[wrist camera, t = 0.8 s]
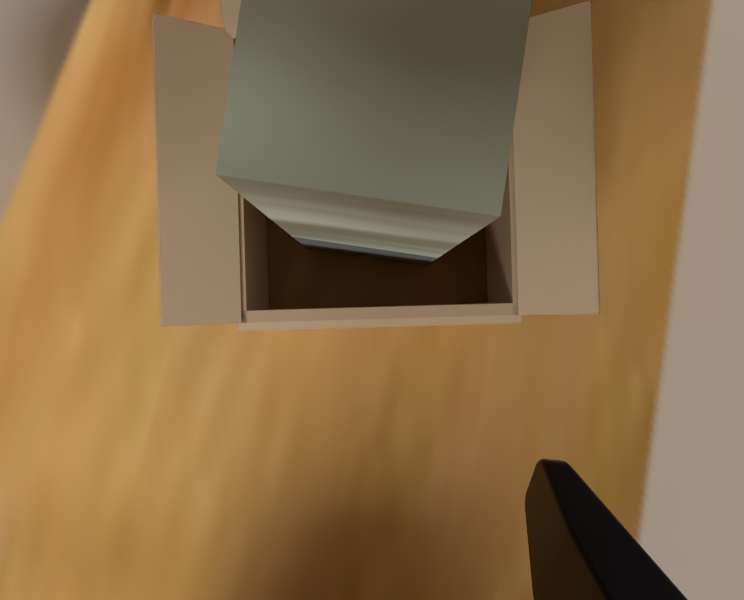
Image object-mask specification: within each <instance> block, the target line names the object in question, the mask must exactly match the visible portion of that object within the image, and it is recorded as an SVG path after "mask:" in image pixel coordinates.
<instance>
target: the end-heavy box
mask: <svg viewBox="0 0 744 600" xmlns="http://www.w3.org/2000/svg"><path fill="white" fill-rule="evenodd" d="M531 5H532V0H241V4H240V11H239V18H238V25H237V31H236V38H235V45H234V52H233V58H232V65H231V72H230V79H229V86H228V92H227V99H226V106H225V113H224V119H223V126H222V133H221V140H220V146H219V153H218V160H217V167H216V173H215V175H217V176H218V177H219V178H220V179H221V180H223V181H224V182H225V183H226V184H228V185H229V186H230V187H231V188H233V189H234V190H235V191H236V192H238V193H239V194H240V195H241V196H243V197H244V198H245V199H246V200H247V201H249V202H250V203H251V204H252V205H254V206H255V207H256V208H257V209H259V210H260V211H261V212H262V213H264V214H265V215H266V216H267V217H268V218H270V219H271V220H272V221H273V222H275V223H276V224H277V225H278V226H280V227H281V228H282V229H283V230H285V231H286V232H287V233H288V234H290V235H291V236H292V237H293V238H294V239H296V240H297V241H298V242H299V243H301V244H302V245H303V246H304V247H306V248H309V249H316V250H323V251H330V252H337V253H343V254H350V255H357V256H364V257H371V258H377V259H384V260H391V261H398V262H405V263H411V264H418V265H425V266H427V265H428V264H430V263H431V262H433V261H434V260H436V259H437V258H439V257H440V256H442V255H443V254H445V253H446V252H448V251H449V250H451V249H452V248H454V247H455V246H457V245H458V244H460V243H461V242H463V241H464V240H466V239H467V238H469V237H470V236H472V235H473V234H475V233H476V232H478V231H479V230H481V229H482V228H484V227H485V226H487V225H488V224H490V223H491V222H493V221H494V220H496V219H497V218H499V217H500V216H501V210H502V203H503V196H504V189H505V183H506V176H507V169H508V162H509V155H510V148H511V142H512V135H513V128H514V121H515V114H516V107H517V101H518V94H519V87H520V80H521V73H522V66H523V60H524V53H525V46H526V39H527V32H528V25H529V18H530V12H531Z"/></svg>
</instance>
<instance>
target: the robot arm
mask: <svg viewBox="0 0 744 600" xmlns="http://www.w3.org/2000/svg"><path fill="white" fill-rule="evenodd" d="M525 512H526V523H527V534H528V545H529V555H530V566H531V577H532V587H533V597H534V600H687V599H686V597H685V596H684V595H683V594H682V593H681V592H680V591H679V590H678V588H677V587H676V586H675V585H674V584H673V583H672V581H671V580H670V579H669V578H668V577H667V576H666V575H665V574H664V572H663V571H662V570H661V569H660V568H659V567H658V565H657V564H656V563H655V562H654V561H653V560H652V559H651V557H650V556H649V555H648V554H647V553H646V552H645V551H644V550H643V548H642V547H641V546H640V545H639V544H638V543H637V541H636V540H635V539H634V538H633V537H632V536H631V535H630V533H629V532H628V531H627V530H626V529H625V528H624V526H623V525H622V524H621V523H620V522H619V521H618V520H617V518H616V517H615V516H614V515H613V514H612V513H611V512H610V510H609V509H608V508H607V507H606V506H605V505H604V504H603V502H602V501H601V500H600V499H599V498H598V497H597V496H596V494H595V493H594V492H593V491H592V490H591V489H590V488H589V486H588V485H587V484H586V483H585V482H584V481H583V480H582V478H581V477H580V476H579V475H578V474H577V473H576V472H575V470H574V469H573V468H572V467H571V466H570V465H569V464H568V463H566V462H564V461H560V460H550V459H541V460H539V461H538V463H537V464H536V467H535V470H534V472H533V475H532V478H531V481H530V484H529V486H528V489H527V492H526V497H525Z"/></svg>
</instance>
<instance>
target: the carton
mask: <svg viewBox="0 0 744 600" xmlns="http://www.w3.org/2000/svg"><path fill="white" fill-rule="evenodd" d="M220 2H221V9H222V16H223V23H224V29H223V28H218V27H214V26H209V25H205V24H200V23H196V22H191V21H187V20H182V19H178V18H173V17H169V16H165V15H160V14H156V13H154V14H153V17H152V23H153V59H154V95H155V131H156V168H157V204H158V240H159V276H160V313H161V326H162V327H164V326H186V325H208V324H231V323H238V331H265V330H300V329H335V328H370V327H405V326H440V325H475V324H509V323H522V315H563V314H600V293H599V260H598V226H597V193H596V160H595V126H594V93H593V59H592V26H591V4H590V1H586V2H582V3H578V4H575V5H571V6H568V7H564V8H561V9H557V10H554V11H550V12H547V13H543V14H540V15H536V16H532V17H530V18H529V25H528V32H527V39H526V46H525V53H524V60H523V66H522V73H521V80H520V87H519V94H518V101H517V107H516V114H515V121H514V128H513V135H512V142H511V148H510V155H509V162H508V169H507V176H506V183H505V189H504V196H503V203H502V210H501V216H500V217H499V218H497V219H496V220H494V221H493V222H491V223H490V224H488V225H487V226H486V259H487V293H488V303H468V304H433V305H398V306H363V307H328V308H294V309H269V296H268V260H267V225H266V215H265V214H264V213H262V212H261V211H260V210H259V209H257V208H256V207H255V206H254V205H252V204H251V203H250V202H249V201H247V200H246V199H245V198H244V197H243V196H241V195H240V194H239V193H238V192H236V191H235V190H234V189H233V188H231V187H230V186H229V185H228V184H226V183H225V182H224V181H223V180H221V179H220V178H219V177H218V176H217V175H215V173H216V167H217V160H218V153H219V146H220V140H221V133H222V126H223V119H224V113H225V106H226V99H227V92H228V86H229V79H230V72H231V65H232V58H233V52H234V45H235V38H236V31H237V25H238V18H239V11H240V4H241V0H220Z"/></svg>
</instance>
